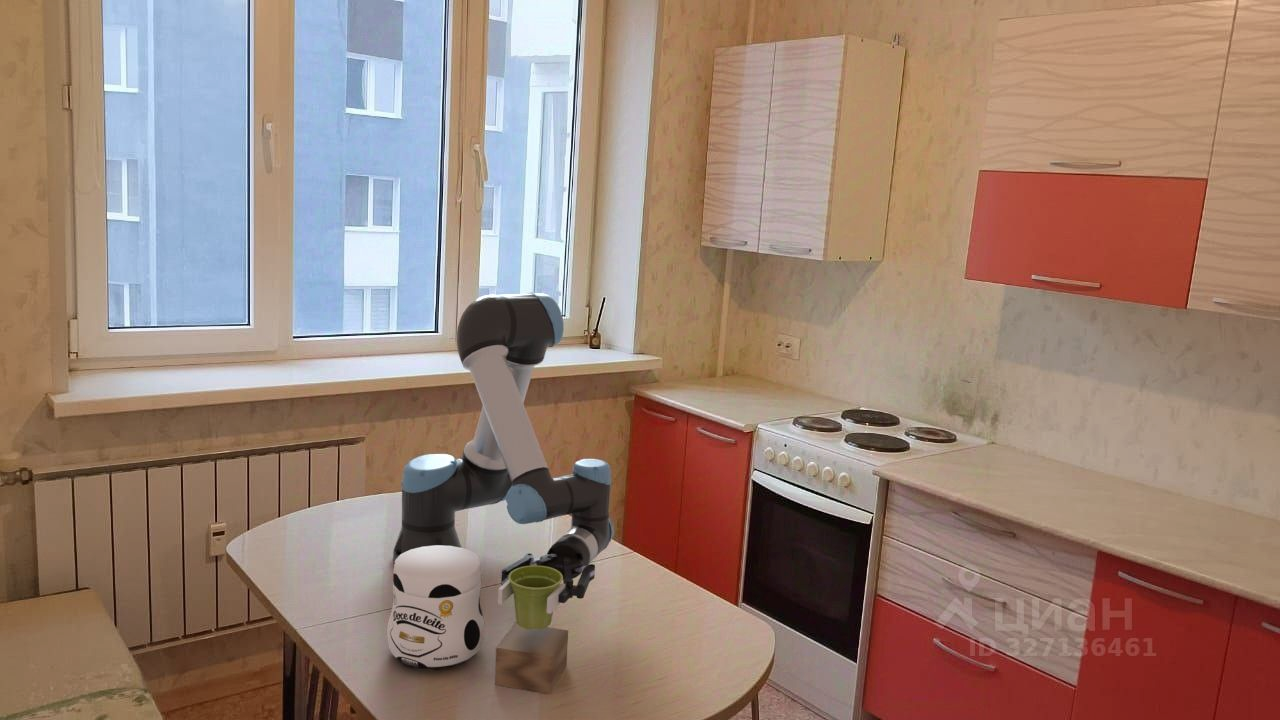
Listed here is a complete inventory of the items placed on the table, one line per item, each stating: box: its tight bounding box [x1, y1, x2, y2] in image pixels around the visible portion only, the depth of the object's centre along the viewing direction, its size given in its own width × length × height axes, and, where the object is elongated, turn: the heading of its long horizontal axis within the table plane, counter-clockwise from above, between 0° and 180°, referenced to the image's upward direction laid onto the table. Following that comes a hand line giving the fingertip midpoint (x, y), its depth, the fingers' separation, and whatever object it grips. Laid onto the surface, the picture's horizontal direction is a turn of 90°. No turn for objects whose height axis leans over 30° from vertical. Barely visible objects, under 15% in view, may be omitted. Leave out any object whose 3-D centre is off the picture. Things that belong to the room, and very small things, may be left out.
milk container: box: [386, 545, 485, 670], centre depth 176 cm, size 17×17×18 cm
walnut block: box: [494, 621, 569, 695], centre depth 171 cm, size 10×10×7 cm
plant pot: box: [509, 566, 563, 629], centre depth 169 cm, size 9×9×9 cm
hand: (524, 601), depth 164 cm, fingers closed on plant pot, 8 cm apart
